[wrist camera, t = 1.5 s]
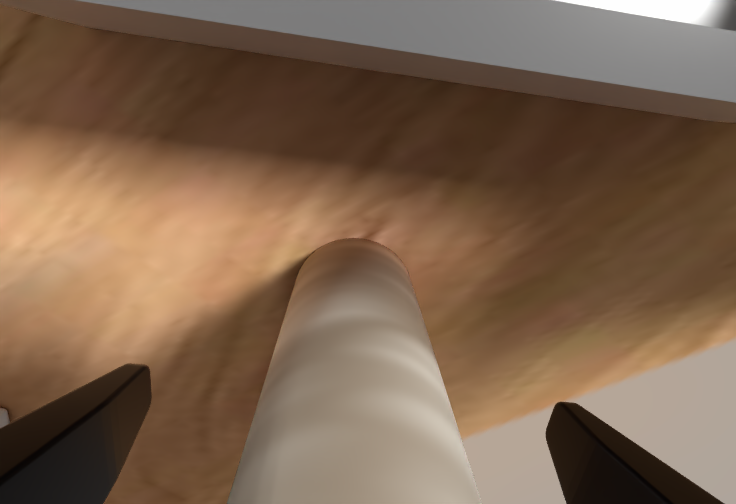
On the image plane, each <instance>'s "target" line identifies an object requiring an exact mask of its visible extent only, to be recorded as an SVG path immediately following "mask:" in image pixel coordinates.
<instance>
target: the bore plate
mask: <svg viewBox="0 0 736 504" xmlns="http://www.w3.org/2000/svg"><path fill="white" fill-rule="evenodd" d="M555 1H560V2H566V3H572V4H578V5H584V6H590V7H596V8H602V9H607V10H613V11H619V12H625V13H631V14H637V15H643V16H649V17H655V18H660V19H666V20H672V21H678V22H684V23H690V24H696V25H702V26H707V27H713V28H719V29H725V30H731V31H736V0H555Z"/></svg>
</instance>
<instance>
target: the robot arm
mask: <svg viewBox="0 0 736 504" xmlns="http://www.w3.org/2000/svg"><path fill="white" fill-rule="evenodd" d="M150 404H151V379H150V369H149V367H148V366H147V365H142V364H125V365H123V366H121V367H119V368H117V369H115V370H113V371H111V372H109V373H107V374H105V375H104V376H102V377H100V378H98V379H96V380H94V381H92V382H90V383H88V384H86V385H84V386H82V387H80V388H78V389H76V390H74V391H72V392H70V393H68V394H66V395H64V396H62V397H60V398H58V399H56V400H54V401H53V402H51V403H49V404H47V405H45V406H43V407H41V408H39V409H37V410H35V411H33V412H31V413H29V414H27V415H25V416H23V417H21V418H19V419H17V420H15V421H13V422H11V423H9V424H7V425H5V426H3V427H2V428H0V504H103V503H104V501H105V499H106V498H107V496H108V494H109V492H110V491H111V489H112V487H113V485H114V483H115V482H116V480H117V478H118V476H119V474H120V472H121V470H122V467H123V465H124V463H125V461H126V459H127V456H128V454H129V452H130V450H131V447H132V445H133V443H134V441H135V439H136V436H137V434H138V432H139V430H140V427H141V425H142V423H143V421H144V418H145V416H146V414H147V412H148V410H149V407H150ZM546 441H547V444H548V447H549V450H550V454H551V457H552V460H553V463H554V466H555V469H556V472H557V475H558V479H559V482H560V485H561V488H562V491H563V495H564V497H565V500H566V503H567V504H724V503H723V502H721V501H720V500H718V499H716V498H715V497H714V496H712V495H711V494H709V493H708V492H706V491H705V490H703V489H702V488H701V487H699V486H698V485H696V484H695V483H693V482H692V481H690V480H689V479H687V478H686V477H684V476H683V475H681V474H680V473H678V472H677V471H675V470H674V469H673V468H671V467H670V466H668V465H667V464H665V463H664V462H662V461H661V460H659V459H658V458H656V457H655V456H653V455H652V454H650V453H649V452H647V451H646V450H645V449H643V448H642V447H640V446H639V445H637V444H636V443H634V442H633V441H631V440H630V439H628V438H627V437H625V436H624V435H622V434H621V433H620V432H618V431H617V430H615V429H614V428H612V427H611V426H609V425H608V424H606V423H605V422H603V421H602V420H600V419H599V418H597V417H596V416H594V415H593V414H592V413H590V412H588V411H587V410H585V409H584V408H583V407H581V406H580V405H578V404H576V403H570V402H558V403H557V404H556V405H555V407H554V409H553V412H552V414H551V417H550V420H549V423H548V426H547V428H546Z"/></svg>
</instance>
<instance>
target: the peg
mask: <svg viewBox="0 0 736 504" xmlns="http://www.w3.org/2000/svg"><path fill="white" fill-rule="evenodd" d="M227 504H482V502H481V499H480V496H479V493H478V489H477V486H476V483H475V480H474V477H473V474H472V471H471V467H470V464H469V461H468V458H467V455H466V452H465V449H464V445H463V442H462V439H461V436H460V433H459V430H458V427H457V423H456V420H455V417H454V414H453V411H452V408H451V405H450V401H449V398H448V395H447V392H446V389H445V386H444V383H443V379H442V376H441V373H440V370H439V367H438V364H437V361H436V357H435V354H434V351H433V348H432V345H431V342H430V339H429V335H428V332H427V329H426V326H425V323H424V320H423V317H422V313H421V310H420V307H419V304H418V301H417V298H416V295H415V292H414V288H413V285H412V282H411V279H410V276H409V273H408V271H407V269H406V267H405V265H404V264H403V262H402V261H401V260H400V258H399V257H398V256H397V255H396V254H395V253H393V252H392V251H391V250H390V249H388V248H387V247H385V246H383V245H381V244H379V243H377V242H374V241H370V240H366V239H358V238H349V239H341V240H337V241H334V242H331V243H328V244H326V245H324V246H322V247H320V248H319V249H317V250H316V251H315V252H314V253H312V254H311V255H310V256H309V257H308V258H307V259H306V261H305V262H304V263H303V265H302V266H301V268H300V270H299V272H298V275H297V278H296V281H295V285H294V288H293V291H292V294H291V298H290V301H289V304H288V307H287V311H286V314H285V317H284V320H283V324H282V327H281V330H280V333H279V336H278V340H277V343H276V346H275V349H274V353H273V356H272V359H271V362H270V366H269V369H268V372H267V375H266V378H265V382H264V385H263V388H262V391H261V395H260V398H259V401H258V404H257V408H256V411H255V414H254V417H253V420H252V424H251V427H250V430H249V433H248V437H247V440H246V443H245V446H244V450H243V453H242V456H241V459H240V462H239V466H238V469H237V472H236V475H235V479H234V482H233V485H232V488H231V492H230V495H229V498H228V501H227Z"/></svg>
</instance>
